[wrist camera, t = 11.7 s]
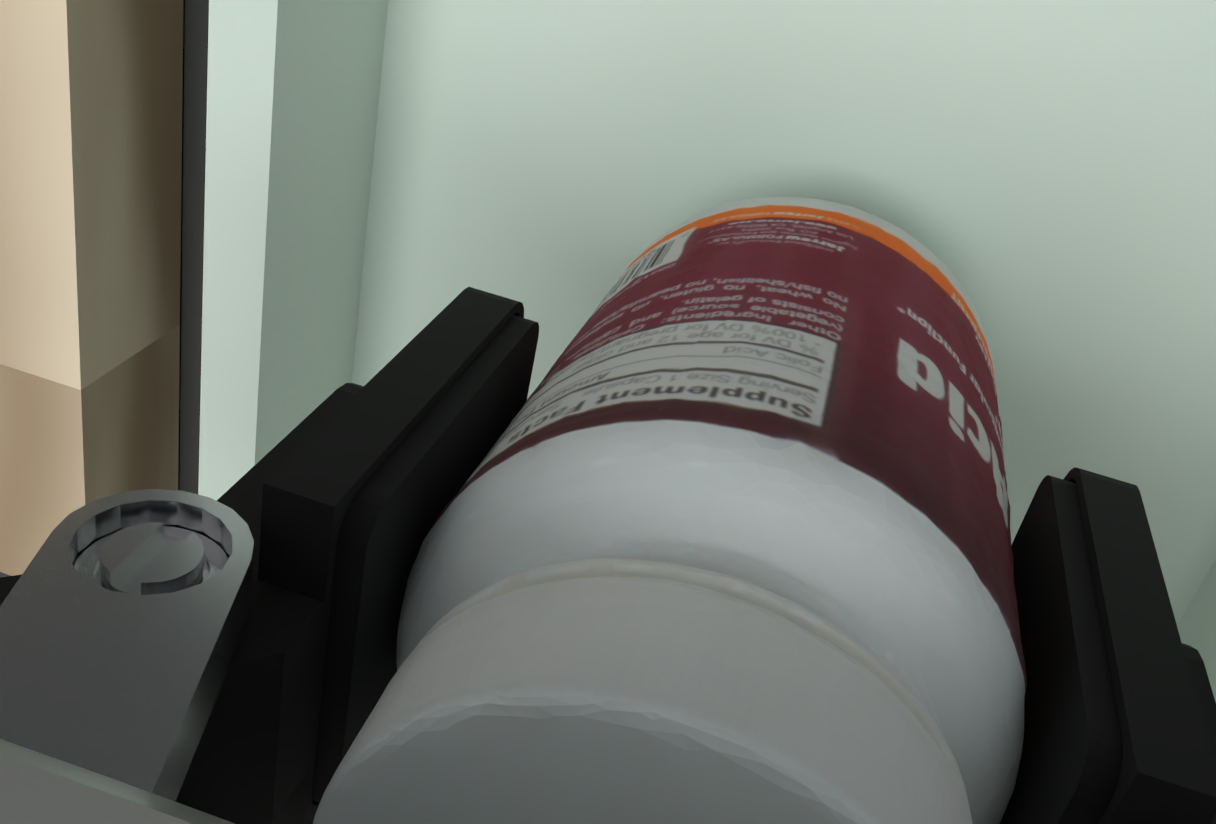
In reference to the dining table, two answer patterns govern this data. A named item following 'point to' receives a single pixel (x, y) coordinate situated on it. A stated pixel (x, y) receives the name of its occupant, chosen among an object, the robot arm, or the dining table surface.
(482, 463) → the pill bottle
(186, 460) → the dining table surface
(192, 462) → the dining table surface
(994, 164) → the tray
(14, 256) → the socket block
